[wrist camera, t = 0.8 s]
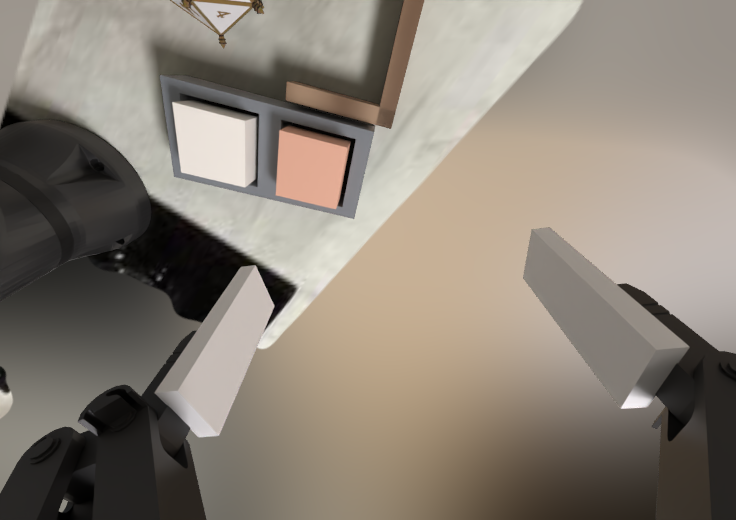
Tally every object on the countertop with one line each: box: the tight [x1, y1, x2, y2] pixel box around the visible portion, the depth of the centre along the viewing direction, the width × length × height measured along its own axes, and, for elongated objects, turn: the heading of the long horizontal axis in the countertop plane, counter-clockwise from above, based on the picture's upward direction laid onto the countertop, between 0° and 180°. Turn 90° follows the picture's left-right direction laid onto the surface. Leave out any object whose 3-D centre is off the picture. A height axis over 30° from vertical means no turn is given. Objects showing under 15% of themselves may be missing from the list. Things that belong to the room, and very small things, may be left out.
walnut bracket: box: [286, 0, 424, 129], centre depth 23 cm, size 10×15×3 cm, turn 167°
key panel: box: [160, 75, 375, 219], centre depth 29 cm, size 19×9×4 cm, turn 77°
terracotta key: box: [276, 125, 351, 209], centre depth 27 cm, size 6×6×3 cm
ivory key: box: [172, 100, 258, 187], centre depth 27 cm, size 6×6×3 cm
